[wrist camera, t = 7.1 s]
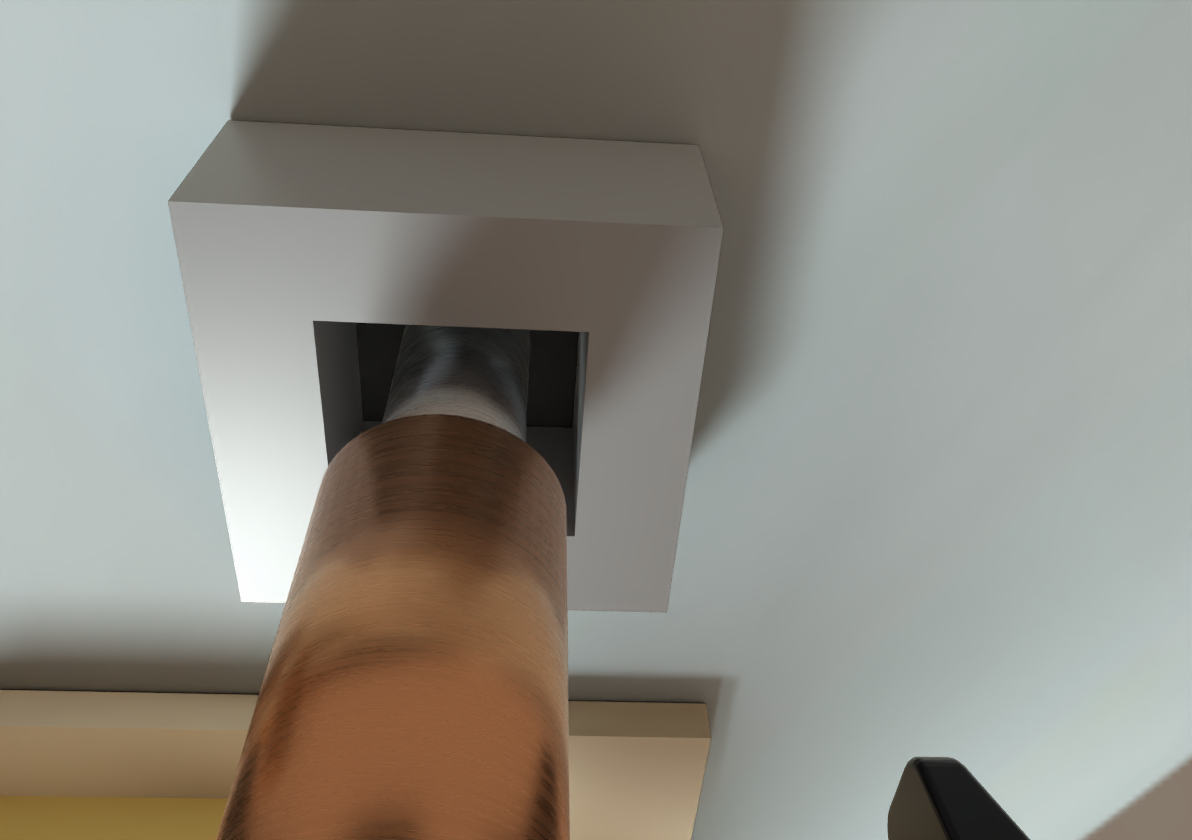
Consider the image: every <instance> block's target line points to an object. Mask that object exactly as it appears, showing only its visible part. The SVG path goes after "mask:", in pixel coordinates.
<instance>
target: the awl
mask: <svg viewBox="0 0 1192 840" xmlns="http://www.w3.org/2000/svg"><path fill="white" fill-rule="evenodd" d="M529 356H530V330H527V329H503V328H479V327H455V326H430V325H406V324H405V328H404V332H403V336H402V340H401V345H400V349H399V353H398V357H397V362H396V366H395V370H394V374H393V379H392V383H391V387H390V391H389V396H388V400H387V404H386V408H385V413H384V417H383V421H382V424H379V425H377V426H374V427H372V428H370V429H369V430H367V431H365V432H363V433H361V434H360V435H358V436H357V437H355V438H354V439H352V440H351V441H350V442H348V443H347V444H346V445H345V446H344V447H343V448H342V449H341V450H340V451H339V452H338V453H337V454H336V456H335V457H334V458H333V460H332V461H331V462H330V464H329V466H328V468H327V469H326V471H325V473H324V476H323V479H322V482H321V485H320V488H319V491H318V495H317V498H316V501H315V505H314V508H313V512H312V515H311V518H310V522H309V525H308V529H307V532H306V535H305V539H304V542H303V546H302V549H301V552H300V556H299V559H298V563H297V566H296V570H295V573H294V576H293V580H292V583H291V587H290V590H289V593H288V597H287V600H286V604H285V607H284V610H283V614H282V617H281V621H280V624H279V627H278V631H277V634H276V638H275V641H274V644H273V648H272V651H271V655H270V658H269V661H268V665H267V668H266V672H265V675H264V678H263V682H262V685H261V689H260V692H259V696H258V699H257V702H256V706H255V709H254V713H253V716H252V719H251V723H250V726H249V730H248V733H247V736H246V740H245V743H244V747H243V750H242V753H241V757H240V760H239V764H238V767H237V770H236V774H235V777H234V781H233V784H232V787H231V791H230V794H229V798H228V801H227V804H226V808H225V811H224V815H223V818H222V822H221V825H220V828H219V832H218V835H217V839H216V840H570V813H569V714H568V616H567V518H566V502H565V497H564V493H563V490H562V488H561V485H560V482H559V480H558V478H557V477H556V475H555V473H554V471H553V470H552V468H551V467H550V466H549V464H548V463H547V462H546V461H545V459H544V458H543V457H542V456H541V455H540V454H539V453H538V452H537V451H536V450H535V449H534V448H532V447H531V446H530V445H528V444H527V443H526V428H527V404H528V380H529Z"/></svg>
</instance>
